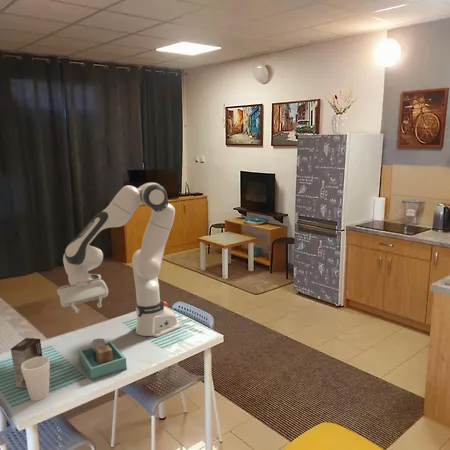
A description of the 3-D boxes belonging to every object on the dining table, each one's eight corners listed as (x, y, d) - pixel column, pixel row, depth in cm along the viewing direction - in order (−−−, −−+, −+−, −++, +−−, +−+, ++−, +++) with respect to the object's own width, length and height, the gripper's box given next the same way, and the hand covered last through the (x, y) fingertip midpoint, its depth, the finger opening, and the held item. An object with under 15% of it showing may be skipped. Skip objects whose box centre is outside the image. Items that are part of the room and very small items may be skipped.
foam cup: (51, 400, 150) (47, 367, 147) (23, 405, 147) (18, 372, 145) (54, 386, 159) (50, 354, 156) (28, 390, 156) (23, 358, 154)
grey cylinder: (103, 354, 179) (102, 337, 178) (107, 359, 175) (106, 341, 173) (92, 358, 176) (90, 340, 175) (95, 363, 172) (94, 345, 171)
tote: (112, 351, 184) (111, 341, 183) (126, 369, 169) (125, 358, 168) (79, 361, 176) (78, 350, 175) (91, 380, 161) (90, 369, 160)
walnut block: (109, 362, 172) (108, 344, 171) (113, 368, 168) (112, 349, 167) (97, 366, 170) (95, 348, 168) (101, 372, 166) (99, 353, 164)
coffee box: (31, 374, 167) (26, 337, 164) (45, 375, 166) (40, 338, 163) (15, 387, 159) (10, 348, 155) (30, 388, 157) (25, 349, 154)
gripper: (56, 284, 178) (64, 313, 172) (103, 273, 189) (113, 300, 183) (55, 291, 182) (63, 319, 176) (101, 280, 193) (110, 307, 187)
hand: (89, 309), depth 180 cm, fingers open, 8 cm apart
